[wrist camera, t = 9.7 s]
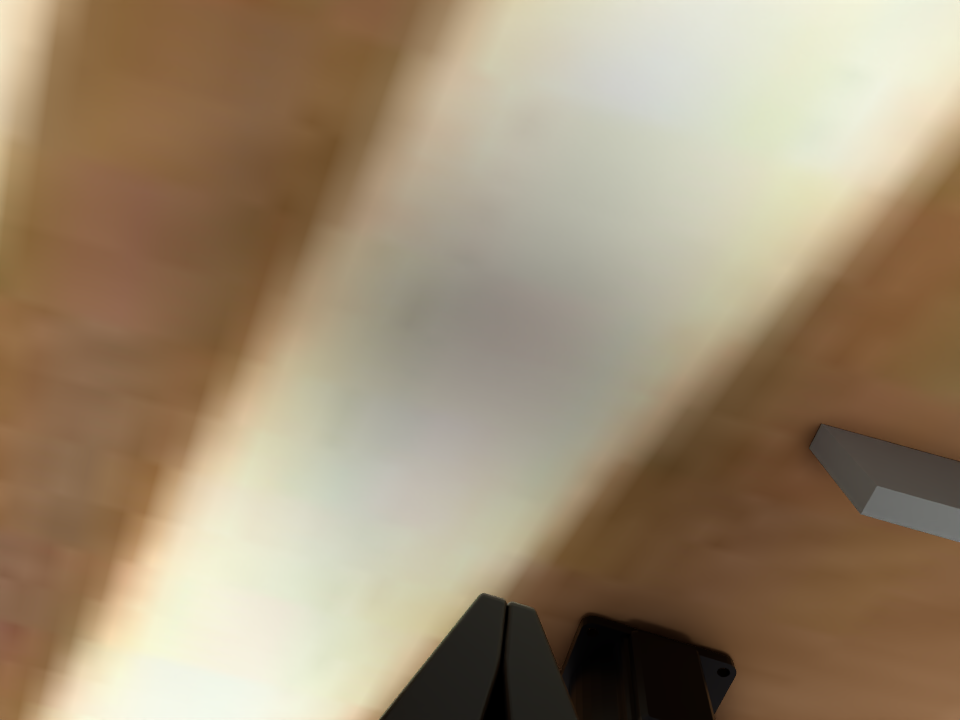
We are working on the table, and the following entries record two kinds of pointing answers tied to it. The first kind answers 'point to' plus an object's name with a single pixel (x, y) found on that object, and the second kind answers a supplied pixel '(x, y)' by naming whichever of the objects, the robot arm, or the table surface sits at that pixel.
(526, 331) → the table surface
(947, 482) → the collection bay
